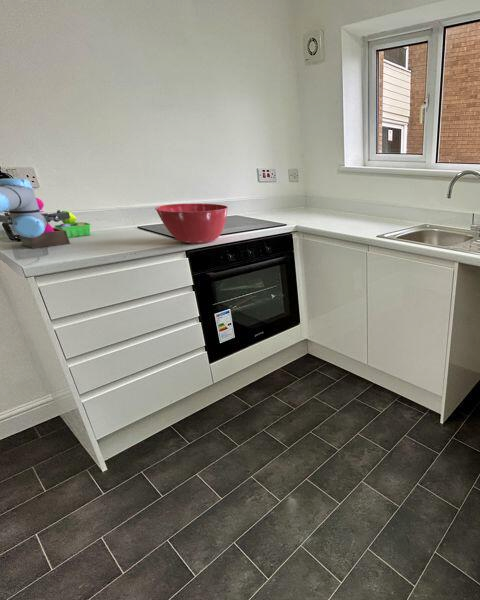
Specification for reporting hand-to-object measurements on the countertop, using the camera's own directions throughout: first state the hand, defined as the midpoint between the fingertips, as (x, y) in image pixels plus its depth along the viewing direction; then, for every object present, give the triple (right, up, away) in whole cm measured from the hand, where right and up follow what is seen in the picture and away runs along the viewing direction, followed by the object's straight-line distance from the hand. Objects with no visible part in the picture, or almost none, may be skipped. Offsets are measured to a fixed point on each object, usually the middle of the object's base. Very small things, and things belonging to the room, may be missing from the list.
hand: (37, 214), depth 145 cm
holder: (+2, -12, +2) cm, 12 cm away
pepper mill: (+2, -12, +2) cm, 12 cm away
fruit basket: (-2, -5, +19) cm, 20 cm away
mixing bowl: (+58, -8, +17) cm, 61 cm away
